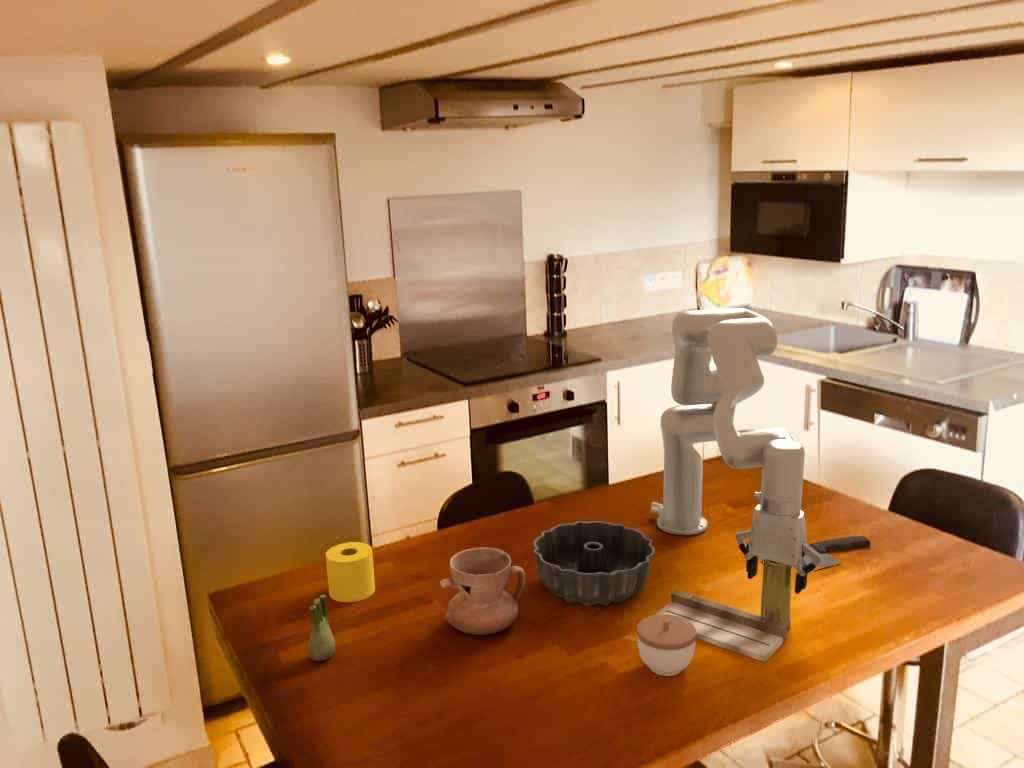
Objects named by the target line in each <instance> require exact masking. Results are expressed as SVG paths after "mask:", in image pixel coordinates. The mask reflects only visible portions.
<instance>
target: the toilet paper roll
mask: <svg viewBox="0 0 1024 768" xmlns="http://www.w3.org/2000/svg"><path fill="white" fill-rule="evenodd" d="M373 556H374V555H373V547H372V546H371V545H369V544H368V543H364V542H360V541H358V542H357V541H352V542H351V541H350V542H344V543H340V544H336V545H334V546H332V547H330V548H329V549H327V551H326V552H325V562H326V563H325V564H326V572H327V573H326V574H327V583H328V584H327V585H328V593H329V597H330V599H332V600H334V601H337V602H340V603H354V602H359V601H362V600H365V599H367V598H369V597H371V596H372V595H373V594H374V593H375V592H376V583H375V569H374V558H373Z"/></svg>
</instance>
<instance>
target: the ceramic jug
mask: <svg viewBox="0 0 1024 768" xmlns="http://www.w3.org/2000/svg"><path fill="white" fill-rule="evenodd" d="M511 565H512V559H511V556H510V555H509V553H507V552H506V551H504V550H502V549H499V548H495V547H494V548H493V547H481V546H480V547H473V548H468V549H464V550H462V551H458V552H457V553H455V554H454V555H453V556H452V557H451V558H450V560H449V568H450V573H451V578H450V577H449V578H443V579H441V580H440V581H439V584H440V586H441V588H443V589H446V588H450V587H451V588H452V589H456V590H458V591H459V593H457V594H455V595H454V596H453V597H452V598H451V599H450V600H449V602H448V604H447V607H446V612H445V620H446V621H447V622H448V624H450V625H451V626H452V627H454V628H455V629H457V631H460V632H462V633H464V634H465V633H466V634H469V635H474V636H483V635H484V636H485V635H491V634H495V633H498V632H501V631H503V630H505V629H507V628H508V627H510V626H511V625H512V624H513V623H514V622H515V621H516V619H517V617H518V615H519V605H518V601H519V598H520V597H521V594H522V592H523V590H524V587H525V584H526V583H525V582H526V572H525V570H524V569H523V568H522V567H521V566H519V565H512V566H511ZM514 574H517V583H516V586H515V589H514V591H513V594H510V593H508V592H507V591H505V590H504V588H505V586H506V583H507V581H508V579H509V578H510V577H511V576H513V575H514Z"/></svg>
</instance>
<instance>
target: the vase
mask: <svg viewBox="0 0 1024 768" xmlns="http://www.w3.org/2000/svg"><path fill="white" fill-rule="evenodd" d="M762 567H763V568H762V569H763V572H762V583H761V584H762V585H761V595H760V614H759V616H760V617H764V618H766V617H767V618H769V619H770V620H773V621H776V622H779V623H783V624H786V625H787V630H789V628H790V627H791V625H792V623H791V593H792V590H791V589H792V575H791V569H792V566H787V565H784V564H780V563H777V562H773V561H770V560H766V559H764V563H763V565H762Z"/></svg>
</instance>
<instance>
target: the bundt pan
mask: <svg viewBox="0 0 1024 768" xmlns="http://www.w3.org/2000/svg"><path fill="white" fill-rule="evenodd" d="M652 544H653V540H652V539H650V538H647V537H646V535H645V534H644V533H643V532H642V531H640V530H638V529H635V528H630V527H627V526H626V525H624V524H621V523H620V524H616V523H614V524H613V523H611V522H607V521H601V520H600V521H599V520H598V521H597V520H596V521H580V520H578V521H575V522H573V523H562V524H558V525H556V526H553V527H552V528H550V530H545V531H542V532H541V535H540V536H537V538H535V539H534V540H533V548H534V550H533V555H534V556H535V561H536V566H537V571H538V572H537V573H538V577H539V579H540V581H541V583H542V584H543V585H544V587H546V588H547V589H548V590H549V591H550V593H552V594H553V595H555V596H557V597H560V598H564V599H565V601H566V602H567V603H570V604H571V603H575V602H578V603H579V604H581V605H584V606H591V605H593V606H594V605H595V604H597V603H598V604H601V605H602V606H603V607H607V606H608V605H609V604H610V603H621V602H623V601H626V600H627V599H628V598H630V597H634V596H636V595H637V594H639V593H640V592H641V591H642V590H643V586H644V584H645V583H646V581H647V579H648V578H649V577H648V576H649V573H650V568H651V562H652V558H653V557H654V556H655V553H656V549H655V547H654V546H653V545H652Z"/></svg>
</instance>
